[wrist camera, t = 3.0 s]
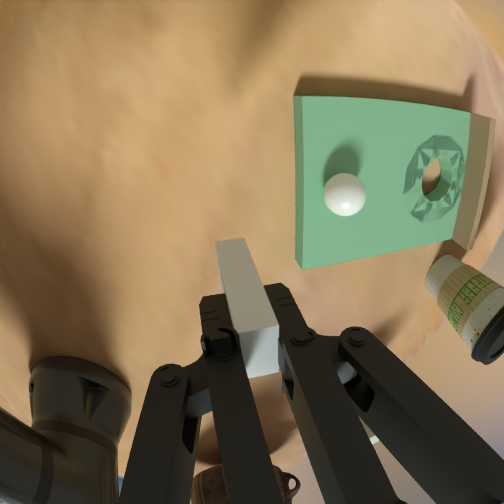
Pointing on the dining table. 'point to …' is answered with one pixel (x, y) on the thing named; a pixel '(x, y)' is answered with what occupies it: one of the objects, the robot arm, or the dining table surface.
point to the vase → (215, 490)
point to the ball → (344, 194)
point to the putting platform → (387, 175)
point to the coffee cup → (470, 305)
